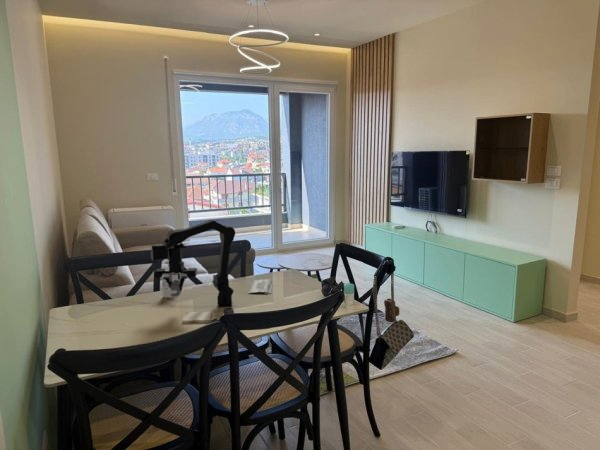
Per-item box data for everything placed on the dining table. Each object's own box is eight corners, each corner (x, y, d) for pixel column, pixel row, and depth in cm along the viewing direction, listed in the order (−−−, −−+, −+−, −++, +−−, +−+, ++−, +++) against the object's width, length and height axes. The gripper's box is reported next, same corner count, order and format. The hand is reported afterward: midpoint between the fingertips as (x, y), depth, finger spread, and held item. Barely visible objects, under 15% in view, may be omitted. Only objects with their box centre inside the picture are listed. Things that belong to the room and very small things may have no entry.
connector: (182, 289, 199) (182, 279, 198) (177, 297, 188) (177, 286, 187) (175, 289, 199) (174, 279, 198) (169, 297, 187) (169, 287, 186)
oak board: (212, 314, 195) (212, 311, 194) (209, 322, 185) (209, 320, 185) (186, 314, 194) (186, 312, 193) (182, 323, 184) (182, 320, 184)
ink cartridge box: (170, 292, 225) (169, 265, 222) (178, 292, 224) (177, 266, 221) (162, 297, 216) (160, 270, 214) (170, 298, 215) (169, 270, 213)
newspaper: (271, 295, 223) (270, 290, 222) (248, 297, 223) (247, 292, 223) (274, 282, 245) (274, 278, 245) (254, 283, 246) (253, 279, 245)
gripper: (198, 253, 200) (199, 284, 203) (158, 254, 198) (160, 285, 201) (194, 259, 189) (196, 292, 192) (152, 260, 187) (154, 293, 190)
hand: (176, 290), depth 194 cm, fingers closed on connector, 4 cm apart
